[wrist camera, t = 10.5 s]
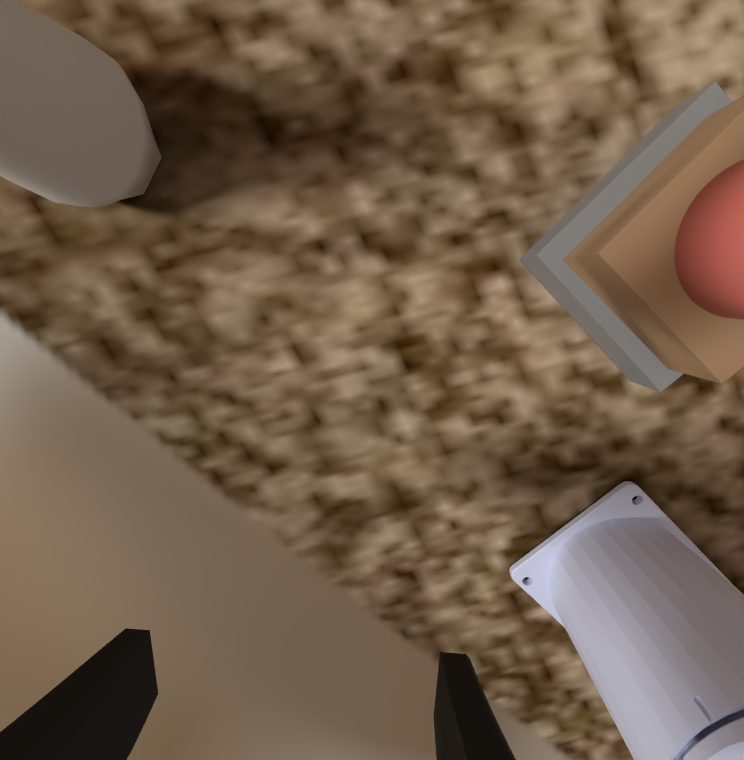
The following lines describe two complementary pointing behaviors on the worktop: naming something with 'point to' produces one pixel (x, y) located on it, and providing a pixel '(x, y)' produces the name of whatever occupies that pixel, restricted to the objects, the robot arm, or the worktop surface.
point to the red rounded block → (714, 245)
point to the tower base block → (588, 214)
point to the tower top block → (667, 255)
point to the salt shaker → (68, 115)
